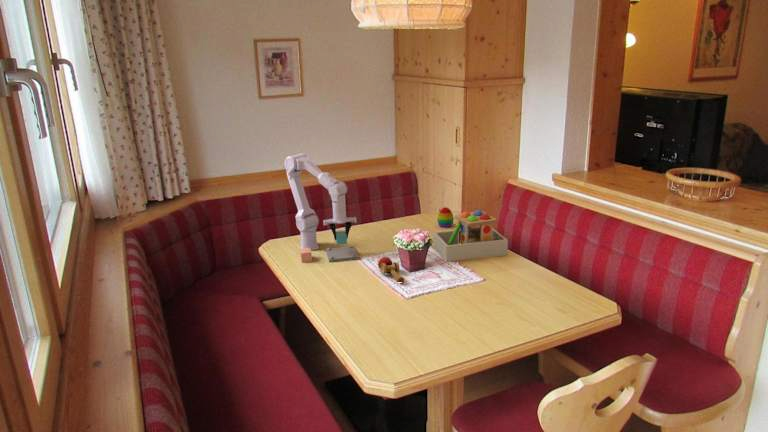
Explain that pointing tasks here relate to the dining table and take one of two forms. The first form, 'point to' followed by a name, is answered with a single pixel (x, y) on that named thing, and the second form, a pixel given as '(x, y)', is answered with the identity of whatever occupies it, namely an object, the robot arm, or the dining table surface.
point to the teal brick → (341, 237)
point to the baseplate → (341, 254)
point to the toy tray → (469, 247)
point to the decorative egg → (445, 218)
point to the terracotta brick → (306, 255)
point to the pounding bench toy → (479, 232)
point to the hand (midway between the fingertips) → (341, 238)
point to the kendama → (390, 268)
